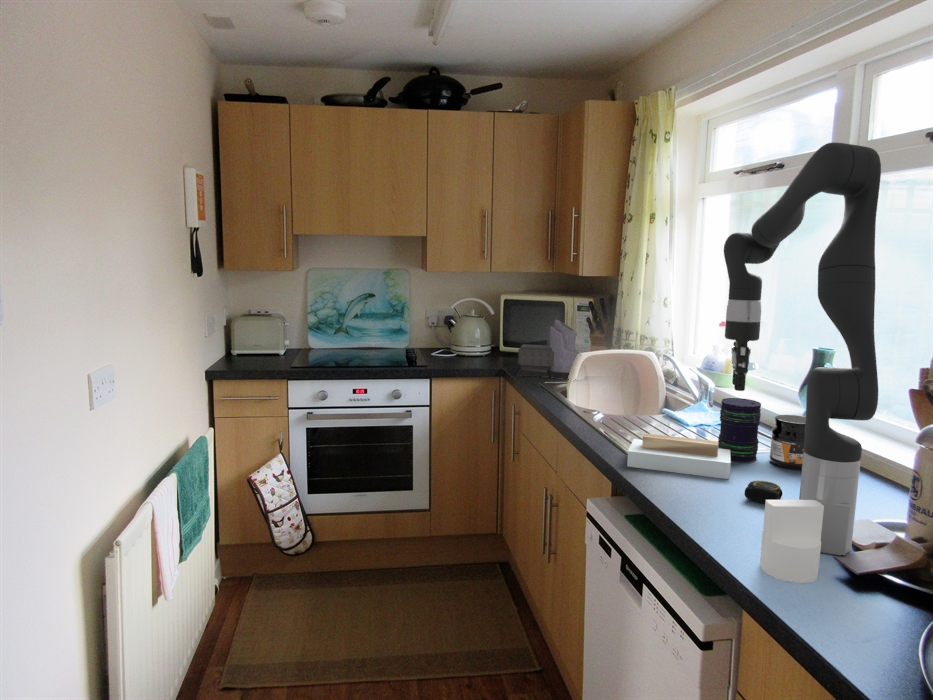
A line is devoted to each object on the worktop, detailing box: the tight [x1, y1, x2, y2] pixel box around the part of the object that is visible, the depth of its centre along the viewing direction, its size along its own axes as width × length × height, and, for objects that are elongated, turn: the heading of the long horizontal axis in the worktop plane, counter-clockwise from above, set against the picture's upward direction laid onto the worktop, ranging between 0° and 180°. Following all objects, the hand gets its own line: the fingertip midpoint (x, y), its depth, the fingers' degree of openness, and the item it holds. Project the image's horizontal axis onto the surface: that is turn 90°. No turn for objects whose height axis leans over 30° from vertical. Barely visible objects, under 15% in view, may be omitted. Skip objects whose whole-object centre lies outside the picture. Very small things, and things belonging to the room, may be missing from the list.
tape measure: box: [744, 480, 783, 504], centre depth 147 cm, size 7×7×4 cm
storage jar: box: [717, 397, 762, 464], centre depth 177 cm, size 10×10×15 cm
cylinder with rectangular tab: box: [759, 499, 824, 584], centre depth 114 cm, size 9×9×12 cm
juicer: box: [515, 319, 581, 379], centre depth 289 cm, size 30×16×24 cm, turn 78°
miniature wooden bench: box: [642, 432, 719, 457], centre depth 169 cm, size 4×18×6 cm, turn 69°
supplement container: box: [768, 414, 806, 471], centre depth 172 cm, size 10×10×12 cm
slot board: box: [626, 438, 732, 480], centre depth 170 cm, size 12×24×4 cm, turn 69°
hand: (738, 387), depth 159 cm, fingers open, 8 cm apart
